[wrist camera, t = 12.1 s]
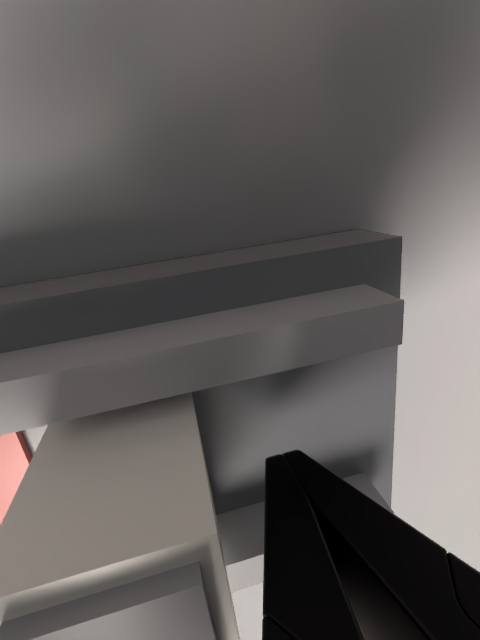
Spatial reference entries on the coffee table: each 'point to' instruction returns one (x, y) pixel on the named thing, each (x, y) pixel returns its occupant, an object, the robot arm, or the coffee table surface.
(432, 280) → the coffee table surface
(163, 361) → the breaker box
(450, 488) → the coffee table surface
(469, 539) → the coffee table surface
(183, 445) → the toggle
